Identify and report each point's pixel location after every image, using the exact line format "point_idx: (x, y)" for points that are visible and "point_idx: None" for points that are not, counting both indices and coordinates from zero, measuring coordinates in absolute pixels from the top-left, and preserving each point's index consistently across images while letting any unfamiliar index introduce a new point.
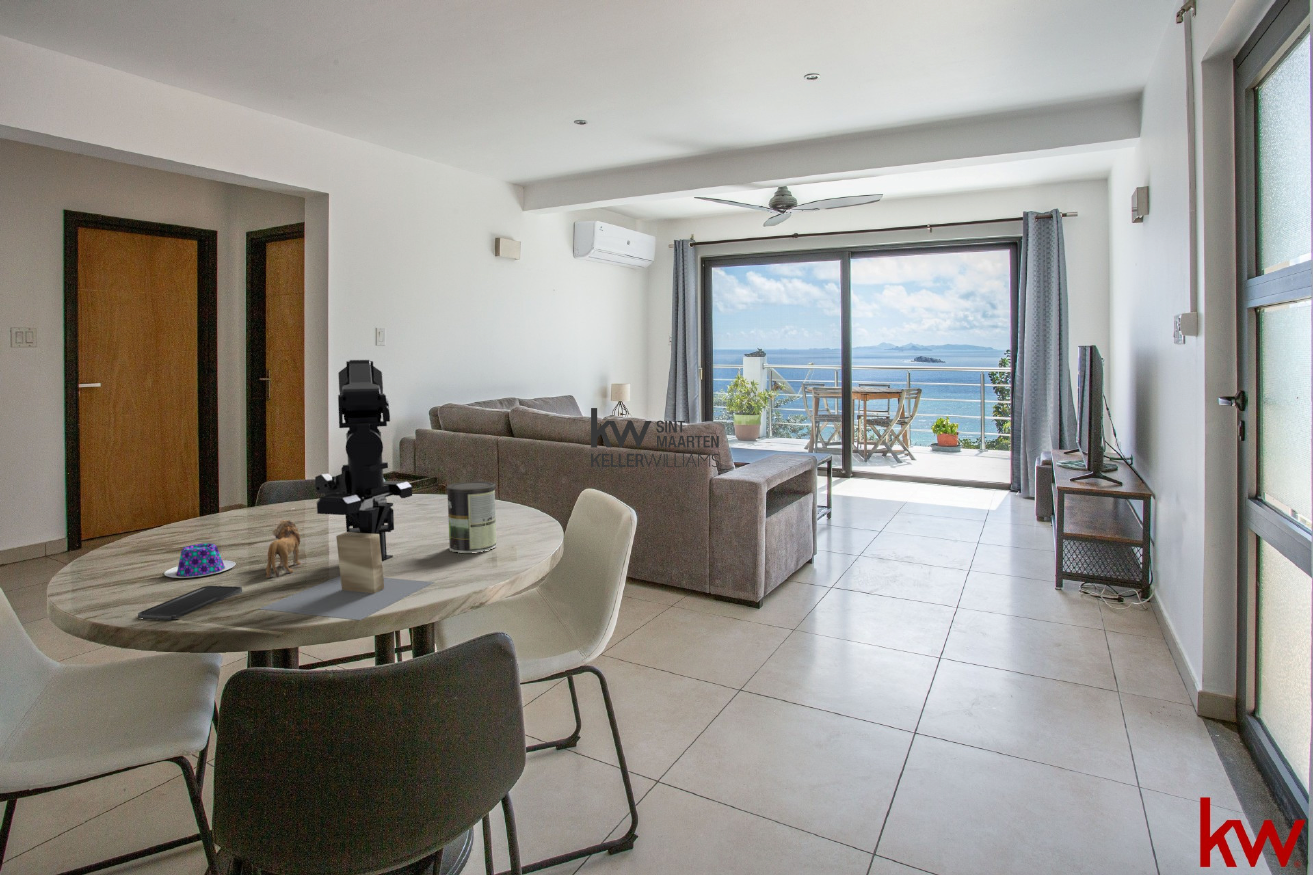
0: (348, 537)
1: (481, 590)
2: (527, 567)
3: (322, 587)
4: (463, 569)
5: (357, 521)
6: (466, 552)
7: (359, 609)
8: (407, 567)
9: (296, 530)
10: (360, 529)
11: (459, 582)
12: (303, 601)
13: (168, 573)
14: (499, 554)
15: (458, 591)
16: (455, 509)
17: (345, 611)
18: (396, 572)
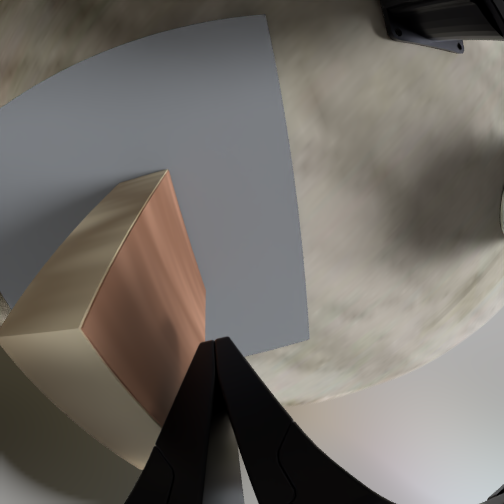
0: (62, 405)
1: (301, 403)
2: (424, 360)
3: (101, 92)
4: (416, 295)
5: (141, 500)
6: (502, 212)
7: None
8: (415, 153)
9: None
10: (166, 434)
11: (333, 357)
12: (6, 191)
13: None
14: (491, 271)
15: (282, 389)
16: None
17: None
18: (370, 159)
